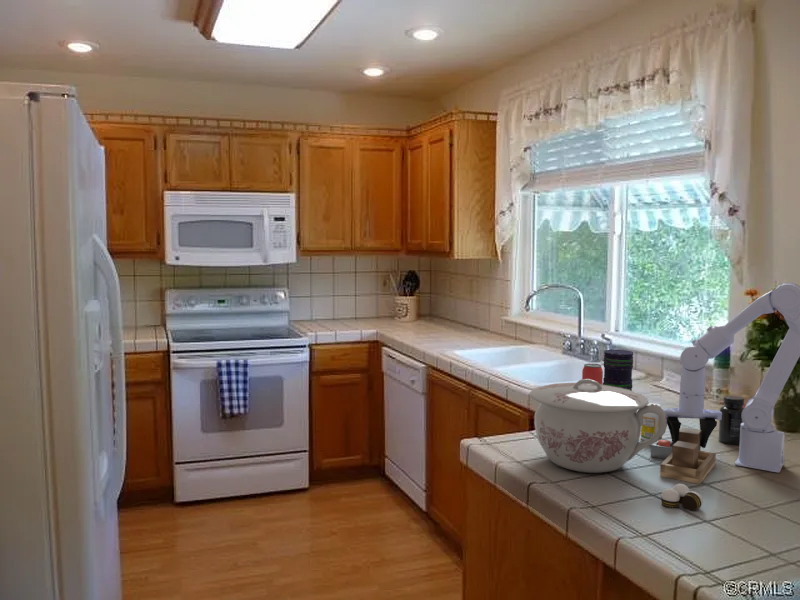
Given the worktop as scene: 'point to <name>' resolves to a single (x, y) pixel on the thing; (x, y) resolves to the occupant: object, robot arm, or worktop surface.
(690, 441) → the billet
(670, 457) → the wooden tray
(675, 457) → the walnut billet
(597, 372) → the beer can
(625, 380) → the storage jar
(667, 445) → the button
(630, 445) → the chamber pot
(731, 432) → the supplement bottle
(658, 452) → the switch box
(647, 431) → the supplement bottle
